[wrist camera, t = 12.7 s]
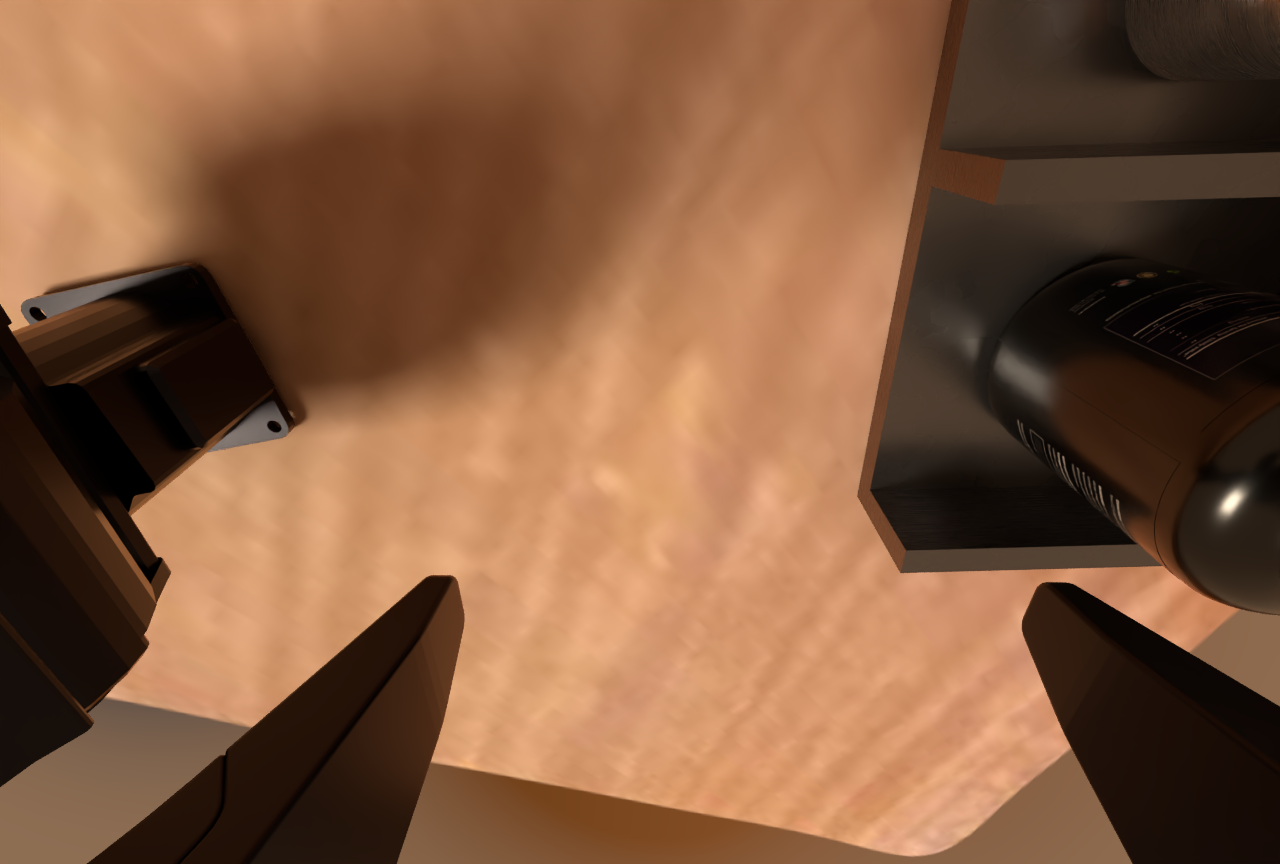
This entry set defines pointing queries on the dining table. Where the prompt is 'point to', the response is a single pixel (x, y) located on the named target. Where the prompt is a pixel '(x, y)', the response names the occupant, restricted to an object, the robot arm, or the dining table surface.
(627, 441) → the dining table surface
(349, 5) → the dining table surface
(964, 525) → the condiment caddy
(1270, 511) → the supplement bottle
